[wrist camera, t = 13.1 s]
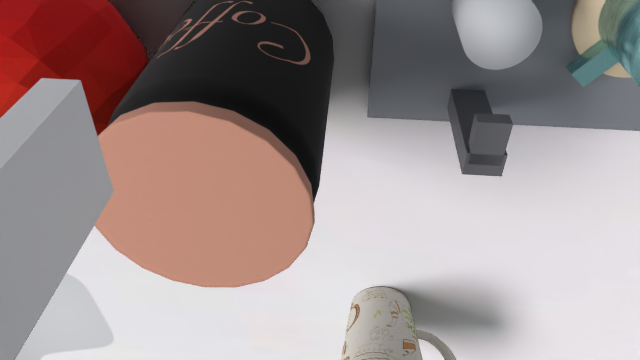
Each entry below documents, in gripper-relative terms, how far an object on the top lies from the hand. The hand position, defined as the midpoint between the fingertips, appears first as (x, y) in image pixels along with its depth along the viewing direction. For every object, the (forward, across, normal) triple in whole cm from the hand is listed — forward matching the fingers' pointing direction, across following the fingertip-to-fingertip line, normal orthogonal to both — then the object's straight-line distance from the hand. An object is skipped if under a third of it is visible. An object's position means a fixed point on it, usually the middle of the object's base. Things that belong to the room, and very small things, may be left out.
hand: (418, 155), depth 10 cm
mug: (+27, +5, -39) cm, 48 cm away
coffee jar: (+27, -8, -10) cm, 30 cm away
